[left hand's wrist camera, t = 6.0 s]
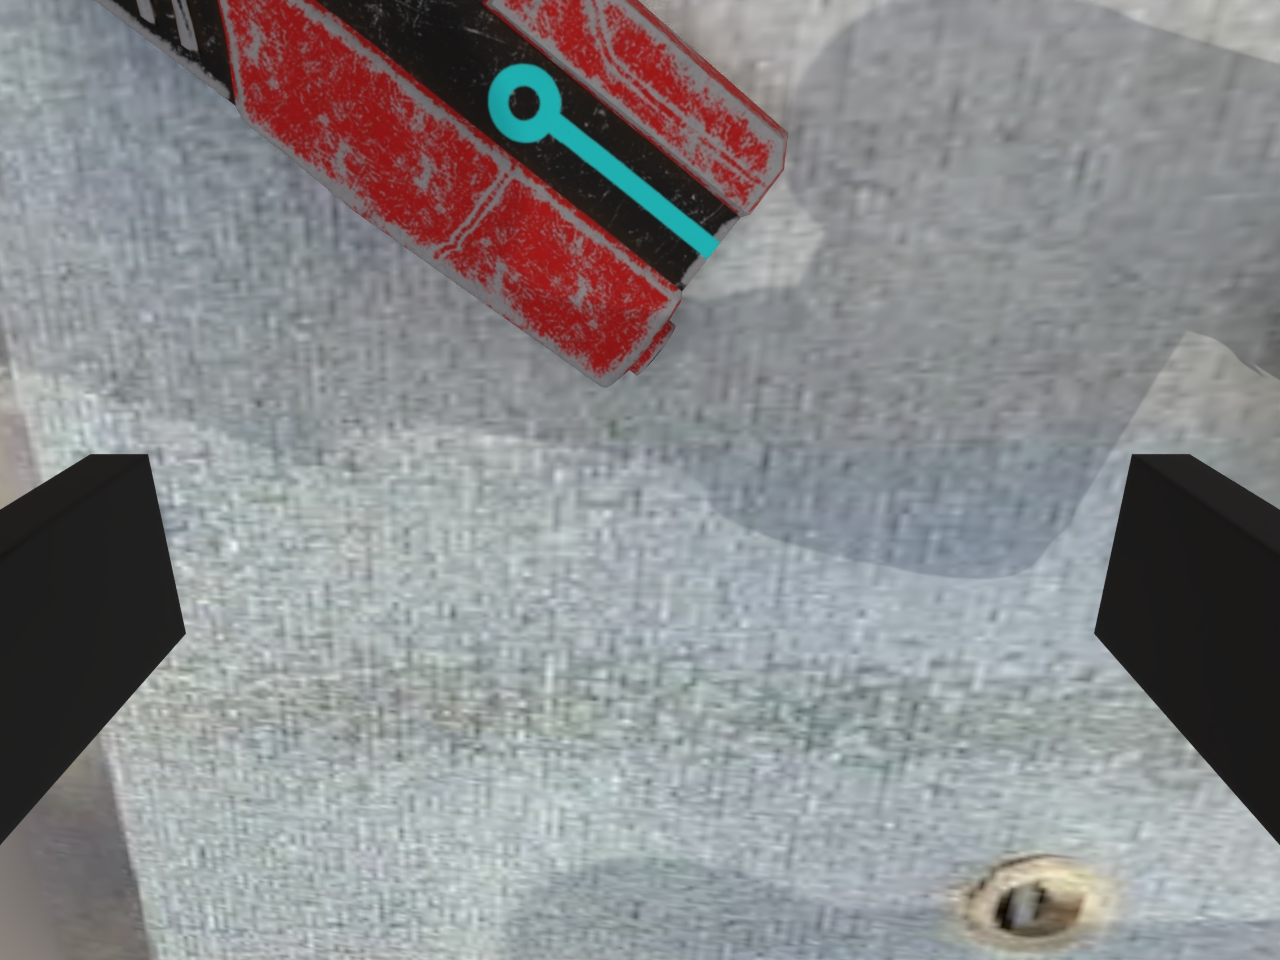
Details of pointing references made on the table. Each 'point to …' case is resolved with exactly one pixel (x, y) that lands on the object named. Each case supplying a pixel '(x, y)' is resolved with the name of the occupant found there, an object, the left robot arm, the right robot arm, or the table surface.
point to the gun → (502, 145)
